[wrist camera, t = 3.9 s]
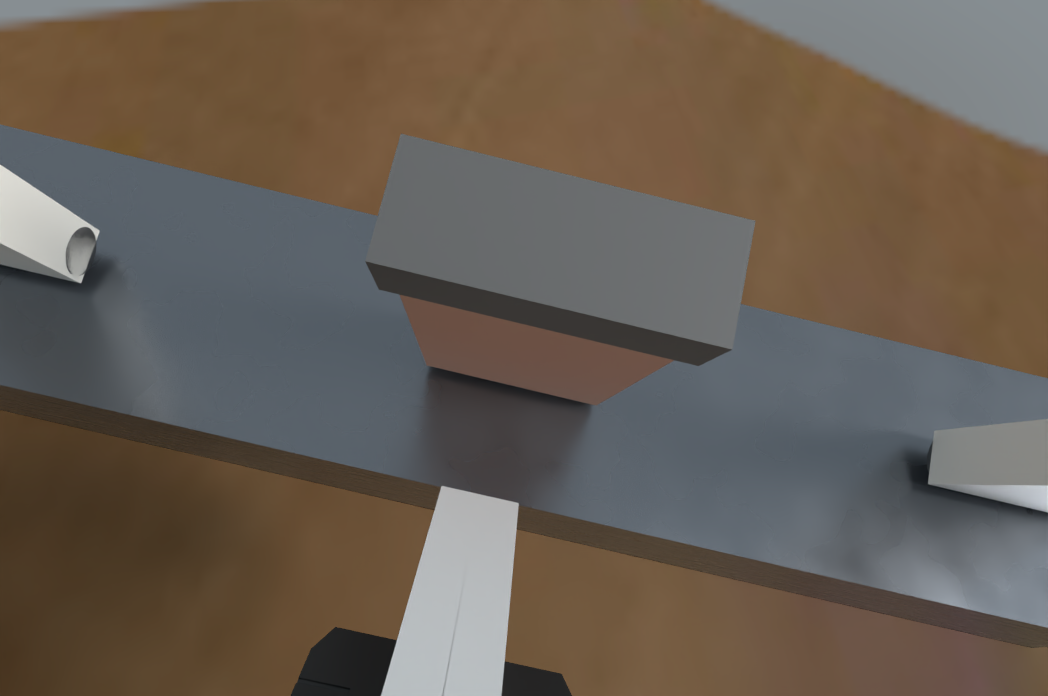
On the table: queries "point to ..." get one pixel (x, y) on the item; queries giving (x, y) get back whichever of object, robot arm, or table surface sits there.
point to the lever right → (994, 462)
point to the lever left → (42, 232)
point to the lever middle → (553, 272)
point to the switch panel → (514, 404)
